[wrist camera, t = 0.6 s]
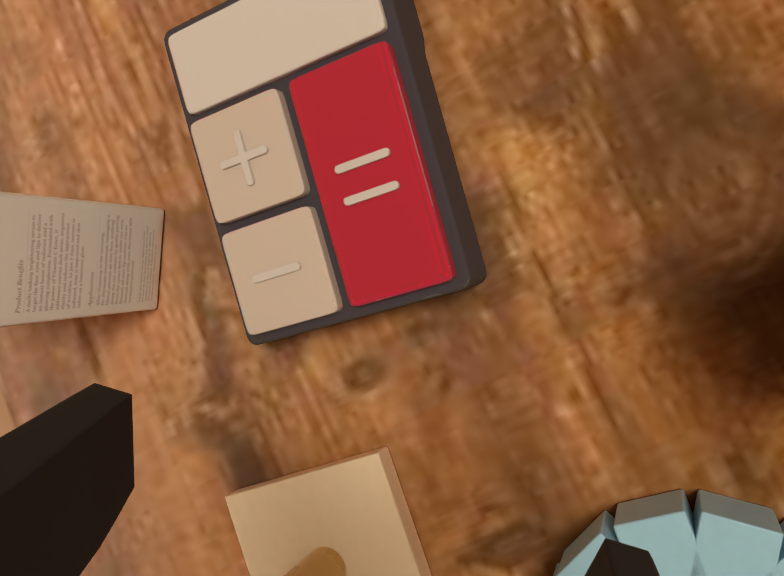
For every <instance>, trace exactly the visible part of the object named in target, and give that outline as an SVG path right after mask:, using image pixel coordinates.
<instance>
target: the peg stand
mask: <svg viewBox="0 0 784 576" xmlns="http://www.w3.org/2000/svg"><path fill="white" fill-rule="evenodd" d="M225 499H226V503H227V506H228V509H229V512H230V515H231V518H232V521H233V524H234V527H235V531H236V534H237V537H238V540H239V543H240V546H241V549H242V552H243V556H244V559H245V562H246V565H247V568H248V571H249V574H250V576H432V575H431V572H430V569H429V566H428V563H427V560H426V558H425V555H424V552H423V549H422V546H421V543H420V540H419V537H418V534H417V531H416V528H415V525H414V523H413V520H412V517H411V514H410V511H409V508H408V505H407V502H406V499H405V496H404V493H403V491H402V488H401V485H400V482H399V479H398V476H397V473H396V470H395V467H394V464H393V461H392V458H391V456H390V453H389V450H388V447H386V446H385V447H382V448H378V449H375V450H371V451H368V452H365V453H361V454H358V455H354V456H351V457H347V458H344V459H341V460H337V461H334V462H330V463H327V464H323V465H320V466H316V467H313V468H310V469H306V470H303V471H299V472H296V473H292V474H289V475H286V476H282V477H279V478H275V479H272V480H268V481H265V482H262V483H258V484H255V485H251V486H248V487H244V488H241V489H238V490H236V491H234V492H232V493H231V494H229V495H227V496H226V497H225Z"/></svg>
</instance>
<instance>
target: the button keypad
mask: <svg viewBox="0 0 784 576" xmlns="http://www.w3.org/2000/svg"><path fill="white" fill-rule="evenodd" d="M164 41H165V46H166V50H167V53H168V57H169V60H170V64H171V67H172V71H173V75H174V78H175V82H176V85H177V89H178V92H179V96H180V99H181V103H182V107H183V110H184V114H185V117H186V121H187V124H188V128H189V131H190V135H191V139H192V142H193V146H194V149H195V153H196V156H197V160H198V163H199V167H200V171H201V174H202V178H203V181H204V185H205V188H206V192H207V196H208V199H209V203H210V206H211V210H212V213H213V217H214V220H215V224H216V228H217V231H218V235H219V238H220V242H221V245H222V249H223V252H224V256H225V260H226V263H227V267H228V270H229V274H230V277H231V281H232V284H233V288H234V292H235V295H236V299H237V302H238V306H239V309H240V313H241V316H242V320H243V324H244V327H245V331H246V334H247V337H248V339H249V341H250V342H251V343H252V344H254V345H259V344H264V343H268V342H271V341H275V340H279V339H283V338H286V337H290V336H294V335H298V334H301V333H305V332H309V331H312V330H316V329H320V328H324V327H327V326H331V325H335V324H338V323H342V322H346V321H350V320H353V319H357V318H361V317H365V316H368V315H372V314H376V313H379V312H383V311H387V310H391V309H394V308H398V307H402V306H406V305H409V304H413V303H417V302H420V301H424V300H428V299H432V298H435V297H439V296H443V295H446V294H450V293H454V292H458V291H461V290H464V289H467V288H469V287H472V286H474V285H477V284H479V283H481V282H483V281H484V279H485V277H486V269H485V265H484V262H483V258H482V255H481V251H480V248H479V244H478V240H477V237H476V233H475V230H474V226H473V223H472V219H471V216H470V212H469V208H468V205H467V201H466V198H465V194H464V191H463V187H462V184H461V180H460V176H459V173H458V169H457V166H456V162H455V159H454V155H453V152H452V148H451V144H450V141H449V137H448V134H447V130H446V127H445V123H444V120H443V116H442V112H441V109H440V105H439V102H438V98H437V95H436V91H435V88H434V84H433V80H432V77H431V73H430V70H429V66H428V63H427V59H426V55H425V49H424V38H423V33H422V30H421V26H420V22H419V19H418V15H417V12H416V8H415V5H414V1H413V0H228V1H226V2H224V3H222V4H220V5H218V6H216V7H214V8H212V9H210V10H208V11H206V12H204V13H202V14H200V15H198V16H196V17H194V18H192V19H190V20H188V21H186V22H184V23H182V24H180V25H178V26H176V27H174V28H172V29H171V30H169V31H168V32H167V33H166V35H165V38H164Z"/></svg>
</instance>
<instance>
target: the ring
mask: <svg viewBox="0 0 784 576" xmlns="http://www.w3.org/2000/svg"><path fill="white" fill-rule="evenodd" d="M605 538H607V539H611V540H614V541H617V542H620V543H624V544H627V545H630V546H634V547H637V548H640V549H644V550H647V551H649V553H650V555H651V557H652V558H653V560H654V563H655V565H656V568H657V570H658V572H659V575H660V576H784V521H783V522H782V523H781V524H780V525H779V522H778V520H777V517H776V515H775V513H774V510H773V509H772V508H768V507H764V506H761V505H757V504H753V503H749V502H745V501H742V500H738V499H734V498H730V497H726V496H723V495H719V494H715V493H711V492H707V491H704V490H698V492H697V497H696V502H695V507H694V511H693V513H692V511H691V508H690V505H689V503H688V500H687V497H686V495H685V492H684V490H682V489H680V490H676V491H671V492H667V493H662V494H658V495H653V496H649V497H644V498H640V499H635V500H631V501H626V502H622V503H619V504H618V505H617V510H616V515H615V518H614V517H613V516H612V515H611V514H610V513H608V512H607V511H606V510H605V511H603V512H602V513H601V514H600V515H599V516H598V517H597V518H596V519H595V520H594V521H593V522H592V523H591V524H590V525H589V526H588V527H587V528H586V529H585V530H584V531H583V532H582V533H581V534H580V535H579V536H578V537H577V538H576V539H575V540H574V541H573V542H572V543H571V544H570V545H569V546H568V547H567V548H566V549H565V550H564V553H563V556H562V559H561V562H560V563H557V566H556V569H555V572H554V575H553V576H585V574H586V572H587V570H588V568H589V567H590V565H591V563H592V561H593V559H594V558H595V556H596V554H597V552H598V550H599V548H600V547H601V545H602V543H603V541H604V539H605Z"/></svg>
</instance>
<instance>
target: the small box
mask: <svg viewBox="0 0 784 576" xmlns="http://www.w3.org/2000/svg"><path fill="white" fill-rule="evenodd" d="M163 220H164V210H163V209H161V208H153V207H144V206H135V205H124V204H114V203H104V202H95V201H86V200H77V199H68V198H59V197H50V196H41V195H31V194H21V193H11V192H0V327H6V326H15V325H23V324H32V323H41V322H50V321H57V320H65V319H72V318H81V317H91V316H101V315H109V314H117V313H125V312H134V311H143V310H154V309H156V308H157V303H158V286H159V271H160V258H161V245H162V232H163Z"/></svg>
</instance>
